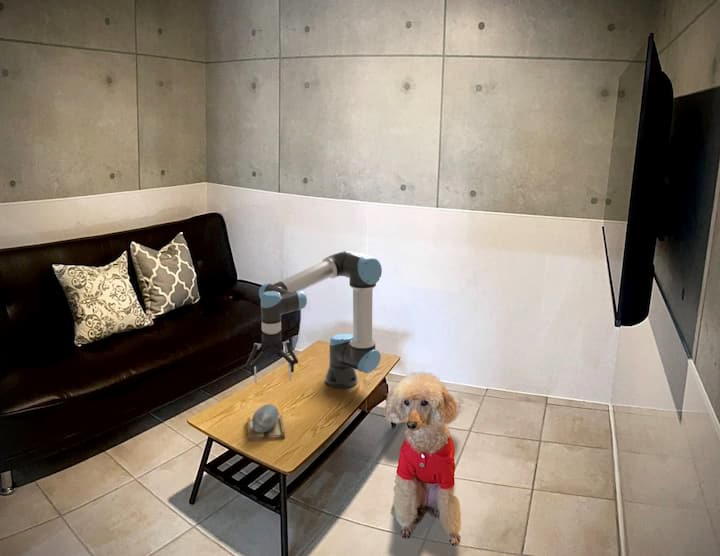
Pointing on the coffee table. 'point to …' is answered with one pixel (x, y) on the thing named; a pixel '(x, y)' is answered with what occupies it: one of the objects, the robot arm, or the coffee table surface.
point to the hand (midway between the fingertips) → (272, 381)
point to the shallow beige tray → (274, 433)
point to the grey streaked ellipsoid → (265, 418)
